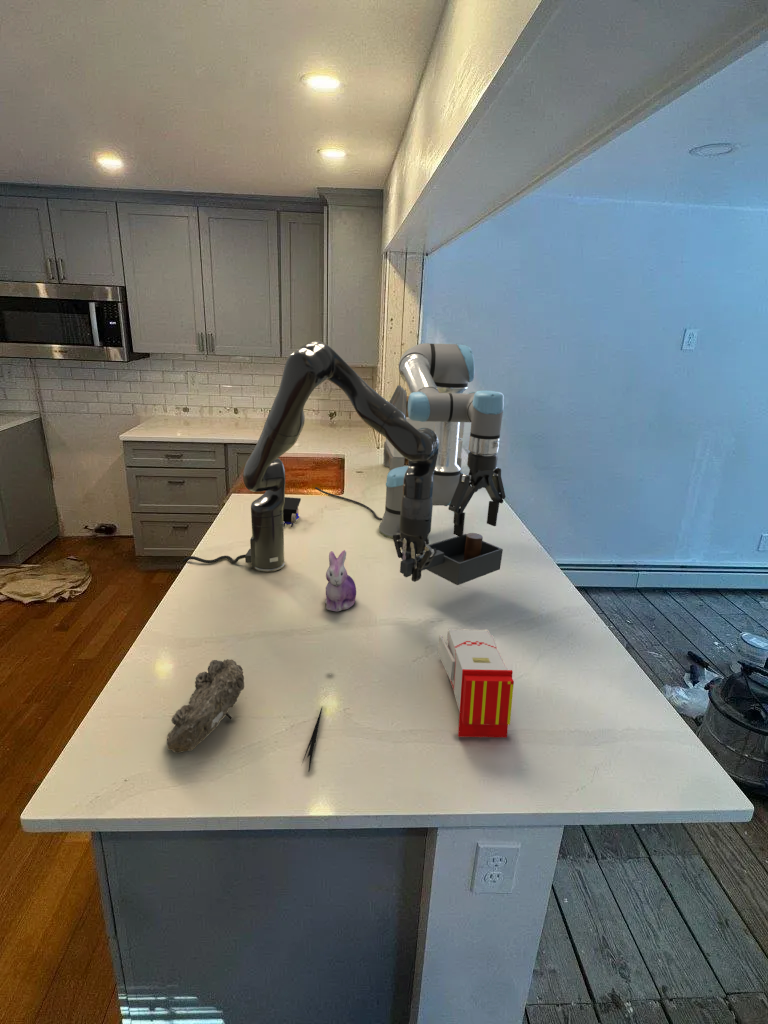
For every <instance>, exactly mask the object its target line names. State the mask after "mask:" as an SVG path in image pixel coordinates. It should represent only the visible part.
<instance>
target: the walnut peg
mask: <svg viewBox="0 0 768 1024" xmlns="http://www.w3.org/2000/svg"><path fill="white" fill-rule="evenodd" d="M466 534H467V535H466V543H465V552H464V560H463V561H466V560H469V559H472V558H475V557H478V556H480V555H481V547H482V541H483V538H484V537H483V535H482V534H480V533H478V532H477V533H476V532H468V533H466Z"/></svg>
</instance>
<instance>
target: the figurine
mask: <svg viewBox="0 0 768 1024" xmlns="http://www.w3.org/2000/svg"><path fill="white" fill-rule="evenodd" d="M346 558H347V551H346V550H345V549H343V550H342V551H341V552H340V554H339V555H338V557H337V556H336V555H335V552H334V551H332V550H331V551H330V552H329V553H328V564H329V566H328V568H327V570H326V573H325V578H326V581H327V584H326V585H325V601H324V602H325V605H326V606H325V608H326V610H328V611H333V612H340V611H343V610H345V611H346V610H348V609H350V608H351V607H353V606H354V605H355V603H356V600H357V599H356V598H357V586H356V582H355V581H354V579H353V577H351V576H350V575H349V574H348V571H347V568H346V566H345V561H346V560H347V559H346Z"/></svg>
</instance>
